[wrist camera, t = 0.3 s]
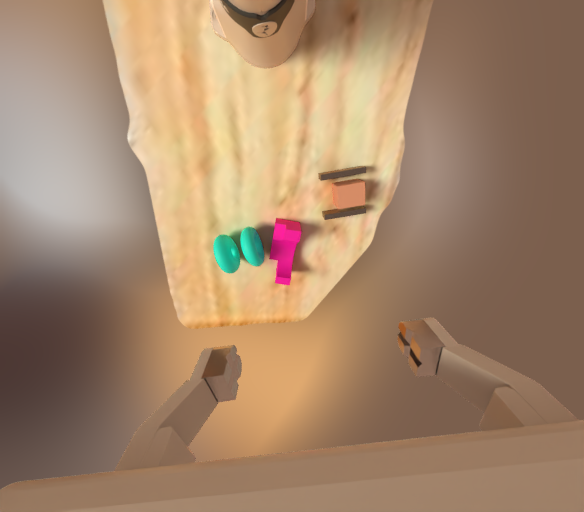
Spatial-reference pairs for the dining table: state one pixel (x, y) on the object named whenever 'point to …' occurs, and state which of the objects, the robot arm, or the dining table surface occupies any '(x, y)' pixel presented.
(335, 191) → the terracotta block
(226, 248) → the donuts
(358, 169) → the guide channel
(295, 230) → the toy block
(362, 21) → the dining table surface
